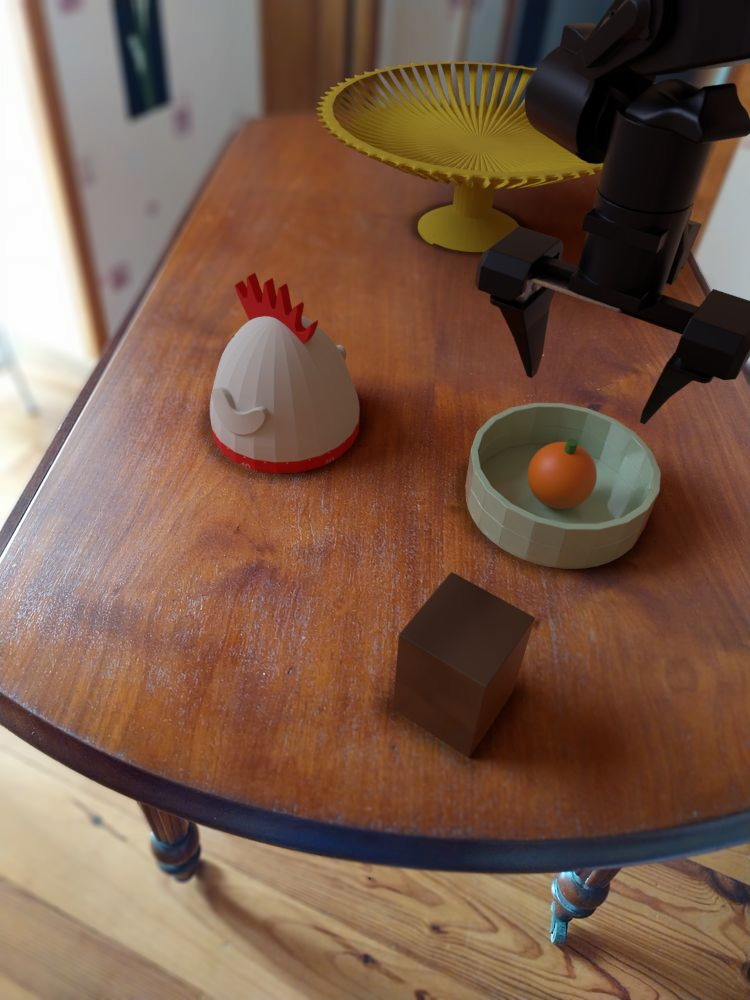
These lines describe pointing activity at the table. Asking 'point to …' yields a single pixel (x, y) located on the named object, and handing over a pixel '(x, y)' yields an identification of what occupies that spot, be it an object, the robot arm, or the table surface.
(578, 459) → the toy orange fruit
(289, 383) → the white chicken figurine
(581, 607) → the table surface
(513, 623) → the block
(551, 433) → the bowl
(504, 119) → the yellow pedestal fruit stand
